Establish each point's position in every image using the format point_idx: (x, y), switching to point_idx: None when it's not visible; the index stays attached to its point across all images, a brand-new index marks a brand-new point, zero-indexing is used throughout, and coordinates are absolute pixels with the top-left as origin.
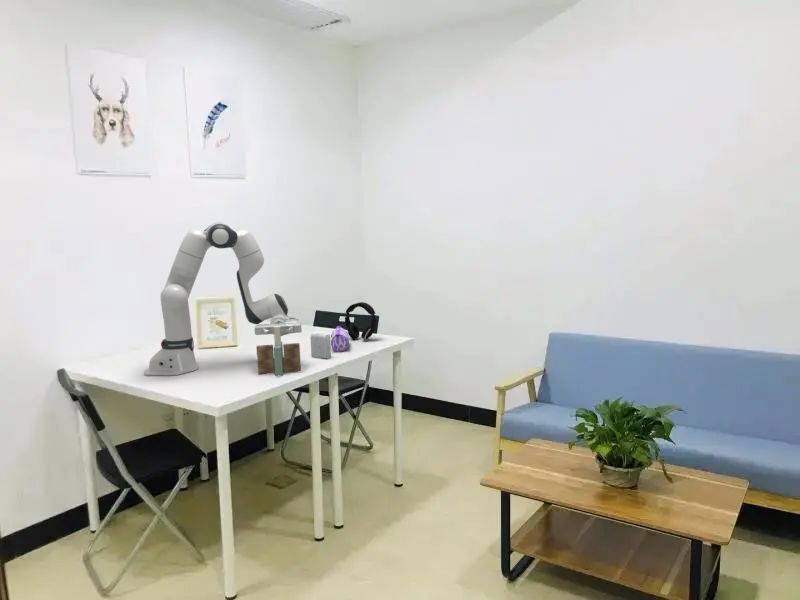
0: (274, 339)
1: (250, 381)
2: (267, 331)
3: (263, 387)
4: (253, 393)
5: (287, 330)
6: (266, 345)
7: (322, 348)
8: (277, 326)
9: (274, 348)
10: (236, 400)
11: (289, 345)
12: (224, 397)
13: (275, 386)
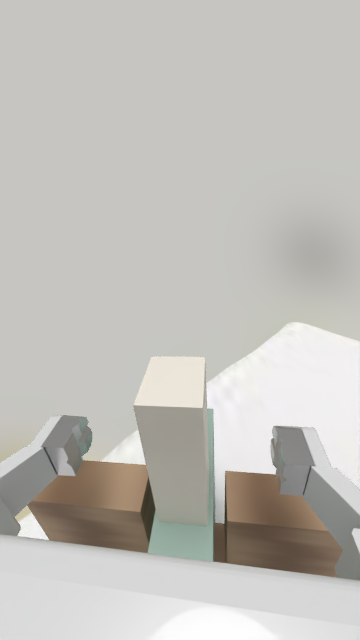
0: (207, 435)
1: None
2: (276, 427)
3: (237, 384)
4: (252, 356)
5: (81, 419)
6: (278, 501)
7: None
8: (167, 380)
9: (208, 410)
10: (274, 335)
11: (111, 465)
12: (309, 348)
13: (207, 385)
